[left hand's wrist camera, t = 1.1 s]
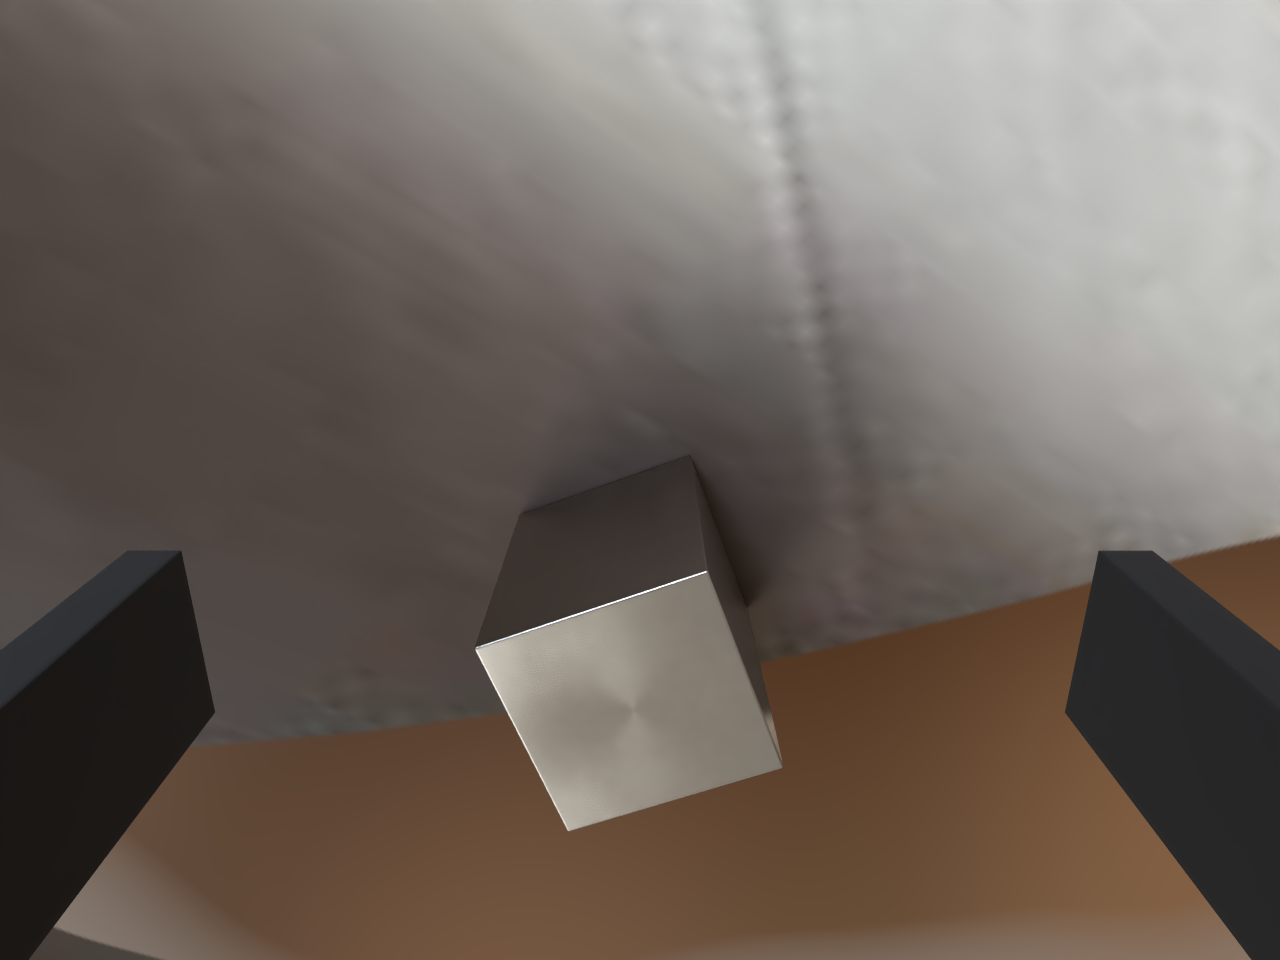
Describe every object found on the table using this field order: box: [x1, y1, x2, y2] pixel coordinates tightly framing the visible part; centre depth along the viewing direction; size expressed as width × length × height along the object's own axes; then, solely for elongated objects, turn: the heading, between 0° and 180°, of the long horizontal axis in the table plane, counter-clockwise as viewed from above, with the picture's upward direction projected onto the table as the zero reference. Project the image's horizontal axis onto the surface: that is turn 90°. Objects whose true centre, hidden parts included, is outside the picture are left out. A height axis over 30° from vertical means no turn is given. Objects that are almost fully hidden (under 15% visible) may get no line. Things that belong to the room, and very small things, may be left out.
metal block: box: [475, 456, 783, 831], centre depth 31 cm, size 7×7×10 cm
